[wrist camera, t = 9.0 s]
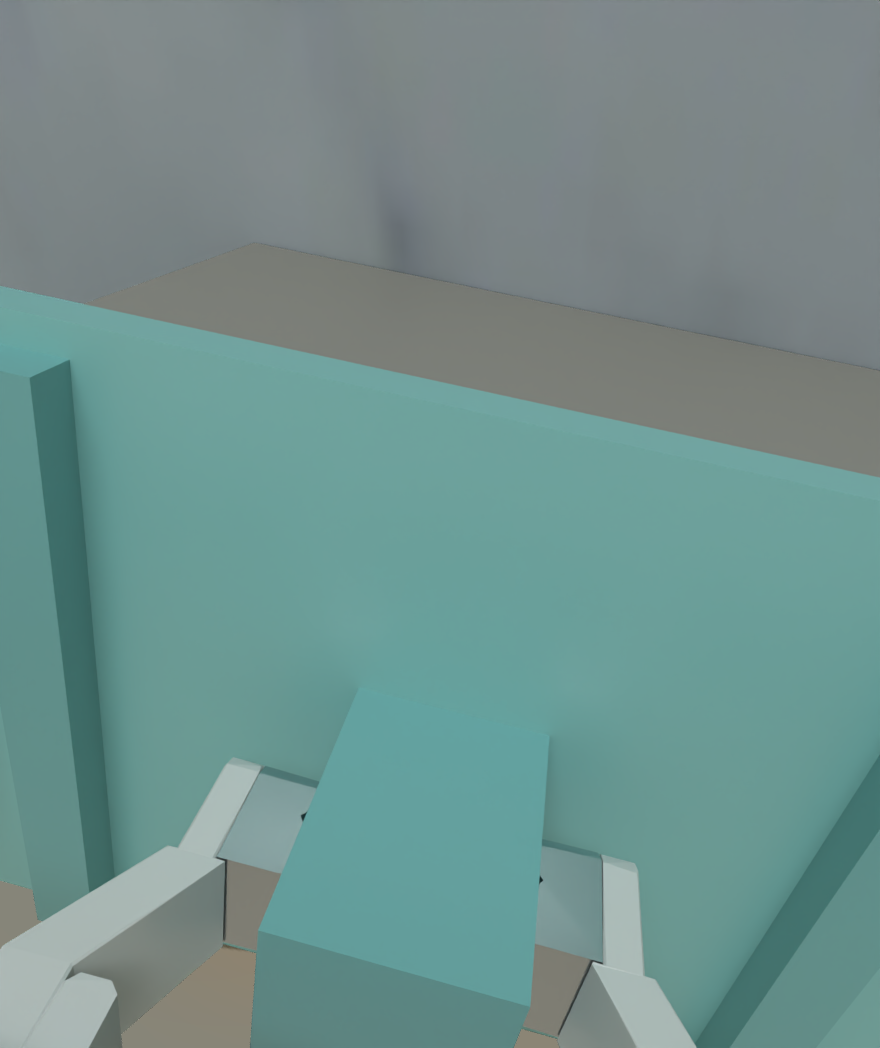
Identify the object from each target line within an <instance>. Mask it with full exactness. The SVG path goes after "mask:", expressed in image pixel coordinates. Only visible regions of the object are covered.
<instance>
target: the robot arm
mask: <svg viewBox="0 0 880 1048" xmlns="http://www.w3.org/2000/svg"><path fill="white" fill-rule="evenodd" d="M318 785H319V781H316V780H312V779H309V778H306V777H302V776H299V775H295V774H292V773H288V772H285V771H282V770H278V769H275V768H271V767H268V766H264V765H260V764H257V763H253V762H250V761H246V760H242V759H239V758H235V757H233V758H232V759H231V760H230V761H229V762H228V763H227V764H226V765H225V766H224V768H223V770H222V771H221V773H220V775H219V776H218V778H217V780H216V782H215V783H214V785H213V787H212V789H211V790H210V792H209V794H208V796H207V797H206V799H205V801H204V802H203V804H202V806H201V808H200V809H199V811H198V813H197V815H196V816H195V818H194V820H193V822H192V823H191V825H190V827H189V828H188V830H187V832H186V834H185V835H184V837H183V839H182V841H181V842H180V844H179V846H178V848H177V847H173V846H169V845H167V846H166V847H164V848H162V849H161V850H159V851H157V852H156V853H154V854H153V855H151V856H149V857H148V858H146V859H144V860H143V861H141V862H139V863H138V864H136V865H134V866H133V867H131V868H130V869H128V870H126V871H125V872H123V873H121V874H120V875H118V876H116V877H115V878H113V879H111V880H110V881H108V882H107V883H105V884H103V885H102V886H100V887H98V888H97V889H95V890H93V891H92V892H90V893H88V894H87V895H85V896H84V897H82V898H80V899H79V900H77V901H75V902H74V903H72V904H70V905H69V906H67V907H65V908H64V909H62V910H61V911H59V912H57V913H56V914H54V915H52V916H51V917H49V918H47V919H46V920H44V921H42V922H41V923H39V924H38V925H36V926H34V927H33V928H31V929H30V930H28V931H26V932H24V933H23V934H21V935H19V936H18V937H16V938H15V939H13V940H11V941H10V942H8V943H6V944H5V945H3V946H2V948H1V949H0V1048H122V1038H121V1034H122V1033H123V1032H124V1031H125V1030H127V1029H128V1028H129V1027H130V1026H131V1025H132V1024H134V1023H135V1022H136V1021H137V1020H138V1019H139V1018H141V1017H142V1016H143V1015H144V1014H145V1013H146V1012H147V1011H149V1010H150V1009H151V1008H152V1007H153V1006H154V1005H155V1004H157V1003H158V1002H159V1001H160V1000H161V999H162V998H164V997H165V996H166V995H167V994H168V993H169V992H170V991H172V990H173V989H174V988H175V987H176V986H178V984H180V983H181V982H182V981H183V980H184V979H186V978H187V977H188V976H189V975H190V974H191V973H192V972H194V971H195V970H196V969H197V968H198V967H199V966H201V965H202V964H203V963H204V962H205V961H206V960H207V959H209V958H210V957H211V956H212V955H213V954H214V953H216V952H217V951H218V950H219V949H220V948H221V947H223V942H225V943H228V944H232V945H236V946H240V947H244V948H248V949H252V950H256V951H257V939H258V929H259V927H260V924H261V922H262V920H263V917H264V915H265V912H266V910H267V908H268V905H269V903H270V900H271V898H272V896H273V893H274V891H275V888H276V886H277V883H278V881H279V879H280V876H281V874H282V871H283V869H284V867H285V864H286V862H287V859H288V857H289V855H290V852H291V850H292V847H293V845H294V842H295V840H296V838H297V835H298V833H299V830H300V828H301V826H302V823H303V821H304V818H305V816H306V814H307V811H308V809H309V806H310V804H311V801H312V799H313V797H314V794H315V792H316V789H317V787H318ZM523 1026H524V1027H527V1028H530V1029H533V1030H537V1031H540V1032H543V1033H546V1034H549V1035H552V1036H556V1037H558V1039H557V1042H558V1045H559V1047H560V1048H697V1047H696V1045H695V1044H694V1042H693V1040H692V1039H691V1037H690V1035H689V1034H688V1032H687V1030H686V1029H685V1027H684V1025H683V1024H682V1022H681V1020H680V1019H679V1017H678V1016H677V1014H676V1012H675V1011H674V1009H673V1007H672V1006H671V1004H670V1002H669V1001H668V999H667V997H666V996H665V994H664V992H663V991H662V989H661V987H660V986H659V984H658V982H657V981H656V979H653V978H650V977H647V976H645V970H644V954H643V938H642V922H641V906H640V890H639V874H638V869H637V867H636V865H635V863H632V862H629V861H625V860H621V859H617V858H613V857H609V856H606V855H602V854H600V855H599V854H598V853H597V852H593V851H589V850H585V849H581V848H577V847H573V846H569V845H565V844H561V843H557V842H553V841H549V840H545V839H542V850H541V864H540V878H539V892H538V906H537V920H536V934H535V948H534V962H533V976H532V990H531V1004H530V1009H529V1011H528V1014H527V1016H526V1019H525V1021H524V1024H523Z"/></svg>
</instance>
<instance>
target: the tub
mask: <svg viewBox="0 0 880 1048" xmlns="http://www.w3.org/2000/svg"><path fill="white" fill-rule="evenodd" d="M85 305H90V306H95V307H99V308H104V309H108V310H113V311H118V312H122V313H127V314H131V315H136V316H140V317H145V318H150V319H154V320H159V321H163V322H168V323H173V324H177V325H182V326H186V327H191V328H196V329H200V330H205V331H209V332H214V333H218V334H223V335H228V336H232V337H237V338H241V339H246V340H251V341H255V342H260V343H264V344H269V345H274V346H278V347H283V348H287V349H292V350H297V351H301V352H306V353H310V354H315V355H319V356H324V357H329V358H333V359H338V360H342V361H347V362H352V363H356V364H361V365H365V366H370V367H375V368H379V369H384V370H388V371H393V372H397V373H402V374H407V375H411V376H416V377H420V378H425V379H430V380H434V381H439V382H443V383H448V384H453V385H457V386H462V387H466V388H471V389H476V390H480V391H485V392H489V393H494V394H498V395H503V396H508V397H512V398H517V399H521V400H526V401H531V402H535V403H540V404H544V405H549V406H554V407H558V408H563V409H567V410H572V411H576V412H581V413H586V414H590V415H595V416H599V417H604V418H609V419H613V420H618V421H622V422H627V423H632V424H636V425H641V426H645V427H650V428H654V429H659V430H664V431H668V432H673V433H677V434H682V435H687V436H691V437H696V438H700V439H705V440H710V441H714V442H719V443H723V444H728V445H732V446H737V447H742V448H746V449H751V450H755V451H760V452H765V453H769V454H774V455H778V456H783V457H788V458H792V459H797V460H801V461H806V462H811V463H815V464H820V465H824V466H829V467H833V468H838V469H843V470H847V471H852V472H856V473H861V474H866V475H870V476H875V477H879V478H880V371H879V370H874V369H869V368H864V367H859V366H854V365H849V364H844V363H839V362H835V361H830V360H825V359H820V358H815V357H810V356H805V355H800V354H795V353H791V352H786V351H781V350H776V349H771V348H766V347H761V346H756V345H752V344H747V343H742V342H737V341H732V340H727V339H722V338H717V337H712V336H708V335H703V334H698V333H693V332H688V331H683V330H678V329H673V328H668V327H664V326H659V325H654V324H649V323H644V322H639V321H634V320H629V319H624V318H620V317H615V316H610V315H605V314H600V313H595V312H590V311H585V310H580V309H576V308H571V307H566V306H561V305H556V304H551V303H546V302H541V301H536V300H532V299H527V298H522V297H517V296H512V295H507V294H502V293H497V292H492V291H488V290H483V289H478V288H473V287H468V286H463V285H458V284H453V283H448V282H444V281H439V280H434V279H429V278H424V277H419V276H414V275H409V274H404V273H400V272H395V271H390V270H385V269H380V268H375V267H370V266H365V265H360V264H356V263H351V262H346V261H341V260H336V259H331V258H326V257H321V256H316V255H312V254H307V253H302V252H297V251H292V250H287V249H282V248H277V247H272V246H268V245H263V244H258V243H252V244H249V245H247V246H244V247H241V248H238V249H236V250H233V251H230V252H227V253H224V254H222V255H219V256H216V257H213V258H210V259H208V260H205V261H202V262H199V263H196V264H194V265H191V266H188V267H185V268H182V269H180V270H177V271H174V272H171V273H168V274H166V275H163V276H160V277H157V278H154V279H152V280H149V281H146V282H143V283H140V284H138V285H135V286H132V287H129V288H126V289H124V290H121V291H118V292H115V293H113V294H110V295H107V296H104V297H101V298H99V299H96V300H93V301H90V302H87V303H85Z"/></svg>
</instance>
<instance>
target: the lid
mask: <svg viewBox="0 0 880 1048" xmlns="http://www.w3.org/2000/svg"><path fill="white" fill-rule="evenodd" d="M233 757H235V758H239V759H242V760H246V761H250V762H253V763H257V764H260V765H264V766H268V767H271V768H275V769H278V770H282V771H285V772H288V773H292V774H295V775H299V776H302V777H306V778H309V779H312V780H316V781H319V785H318V787H317V789H316V792H315V794H314V797H313V799H312V801H311V804H310V806H309V809H308V811H307V814H306V816H305V818H304V821H303V823H302V826H301V828H300V830H299V833H298V835H297V838H296V840H295V842H294V845H293V847H292V850H291V852H290V855H289V857H288V859H287V862H286V864H285V867H284V869H283V871H282V874H281V876H280V879H279V881H278V883H277V886H276V888H275V891H274V893H273V896H272V898H271V900H270V903H269V905H268V908H267V910H266V912H265V915H264V917H263V920H262V922H261V924H260V927H259V929H258V939H257V951H256V950H252V949H248V948H244V947H240V946H236V945H232V944H228V943H225V942H223V944H225V945H229V946H232V947H236V948H239V949H243V950H247V951H250V952H254V953H256V969H255V983H254V999H253V1013H252V1027H251V1042H250V1048H514V1046H515V1043H516V1041H517V1038H518V1036H519V1033H520V1031H521V1029H525V1030H528V1031H532V1032H535V1033H539V1034H542V1035H546V1036H549V1037H552V1038H556V1039H558V1037H556V1036H552V1035H549V1034H546V1033H543V1032H540V1031H537V1030H533V1029H530V1028H527V1027H524V1026H523V1024H524V1021H525V1019H526V1016H527V1014H528V1011H529V1009H530V1004H531V990H532V976H533V962H534V948H535V934H536V920H537V906H538V892H539V878H540V864H541V850H542V839H545V840H549V841H553V842H557V843H561V844H565V845H569V846H573V847H577V848H581V849H585V850H589V851H593V852H597V853H598V854H599V855H600V854H602V855H606V856H609V857H613V858H617V859H621V860H625V861H629V862H632V863H635V865H636V867H637V869H638V874H639V890H640V906H641V922H642V938H643V954H644V970H645V976H647V977H650V978H653V979H656V981H657V982H658V984H659V986H660V987H661V989H662V991H663V992H664V994H665V996H666V997H667V999H668V1001H669V1002H670V1004H671V1006H672V1007H673V1009H674V1011H675V1012H676V1014H677V1016H678V1017H679V1019H680V1020H681V1022H682V1024H683V1025H684V1027H685V1029H686V1030H687V1032H688V1034H689V1035H690V1037H691V1039H692V1040H693V1042H694V1044H695V1045H696V1047H697V1048H880V478H879V477H875V476H870V475H866V474H861V473H856V472H852V471H847V470H843V469H838V468H833V467H829V466H824V465H820V464H815V463H811V462H806V461H801V460H797V459H792V458H788V457H783V456H778V455H774V454H769V453H765V452H760V451H755V450H751V449H746V448H742V447H737V446H732V445H728V444H723V443H719V442H714V441H710V440H705V439H700V438H696V437H691V436H687V435H682V434H677V433H673V432H668V431H664V430H659V429H654V428H650V427H645V426H641V425H636V424H632V423H627V422H622V421H618V420H613V419H609V418H604V417H599V416H595V415H590V414H586V413H581V412H576V411H572V410H567V409H563V408H558V407H554V406H549V405H544V404H540V403H535V402H531V401H526V400H521V399H517V398H512V397H508V396H503V395H498V394H494V393H489V392H485V391H480V390H476V389H471V388H466V387H462V386H457V385H453V384H448V383H443V382H439V381H434V380H430V379H425V378H420V377H416V376H411V375H407V374H402V373H397V372H393V371H388V370H384V369H379V368H375V367H370V366H365V365H361V364H356V363H352V362H347V361H342V360H338V359H333V358H329V357H324V356H319V355H315V354H310V353H306V352H301V351H297V350H292V349H287V348H283V347H278V346H274V345H269V344H264V343H260V342H255V341H251V340H246V339H241V338H237V337H232V336H228V335H223V334H218V333H214V332H209V331H205V330H200V329H196V328H191V327H186V326H182V325H177V324H173V323H168V322H163V321H159V320H154V319H150V318H145V317H140V316H136V315H131V314H127V313H122V312H118V311H113V310H108V309H104V308H99V307H95V306H90V305H85V304H81V303H76V302H72V301H67V300H62V299H58V298H53V297H49V296H44V295H40V294H35V293H30V292H26V291H21V290H17V289H12V288H7V287H3V286H0V881H4V882H7V883H11V884H14V885H18V886H21V887H25V888H29V889H32V890H33V895H34V901H35V906H36V912H37V917H38V920H41V921H44V920H46V919H47V918H49V917H51V916H52V915H54V914H56V913H57V912H59V911H61V910H62V909H64V908H65V907H67V906H69V905H70V904H72V903H74V902H75V901H77V900H79V899H80V898H82V897H84V896H85V895H87V894H88V893H90V892H92V891H93V890H95V889H97V888H98V887H100V886H102V885H103V884H105V883H107V882H108V881H110V880H111V879H113V878H115V877H116V876H118V875H120V874H121V873H123V872H125V871H126V870H128V869H130V868H131V867H133V866H134V865H136V864H138V863H139V862H141V861H143V860H144V859H146V858H148V857H149V856H151V855H153V854H154V853H156V852H157V851H159V850H161V849H162V848H164V847H166V846H167V845H169V846H173V847H177V848H178V846H179V844H180V842H181V841H182V839H183V837H184V835H185V834H186V832H187V830H188V828H189V827H190V825H191V823H192V822H193V820H194V818H195V816H196V815H197V813H198V811H199V809H200V808H201V806H202V804H203V802H204V801H205V799H206V797H207V796H208V794H209V792H210V790H211V789H212V787H213V785H214V783H215V782H216V780H217V778H218V776H219V775H220V773H221V771H222V770H223V768H224V766H225V765H226V764H227V763H228V762H229V761H230V760H231V759H232V758H233Z"/></svg>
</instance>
